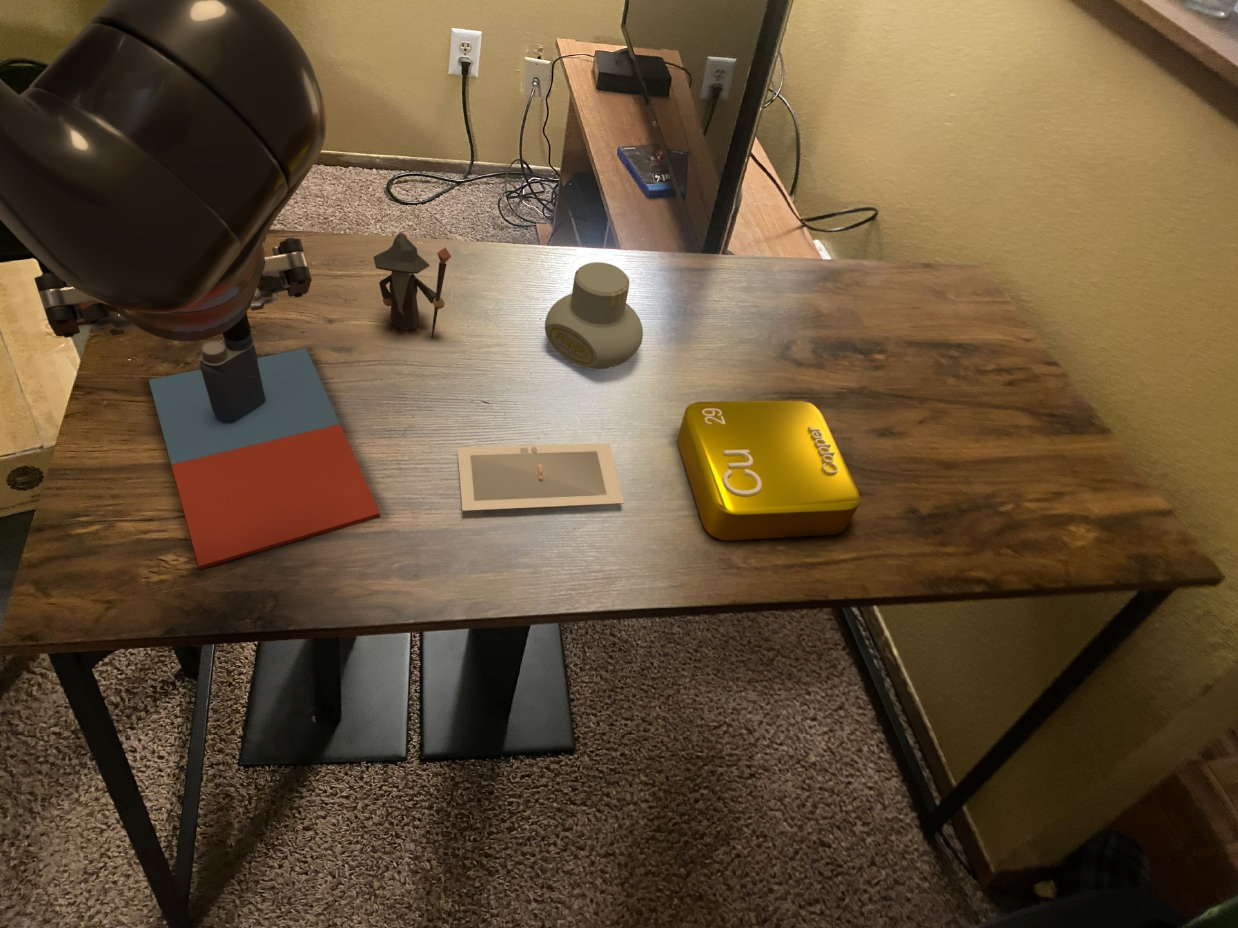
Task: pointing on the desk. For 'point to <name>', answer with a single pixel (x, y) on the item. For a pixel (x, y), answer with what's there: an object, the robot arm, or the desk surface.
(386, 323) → the desk surface
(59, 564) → the desk surface
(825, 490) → the element tile
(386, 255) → the wizard figurine
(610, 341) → the air freshener
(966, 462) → the desk surface
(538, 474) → the touchpad
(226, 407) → the vaping device
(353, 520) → the sorting mat
